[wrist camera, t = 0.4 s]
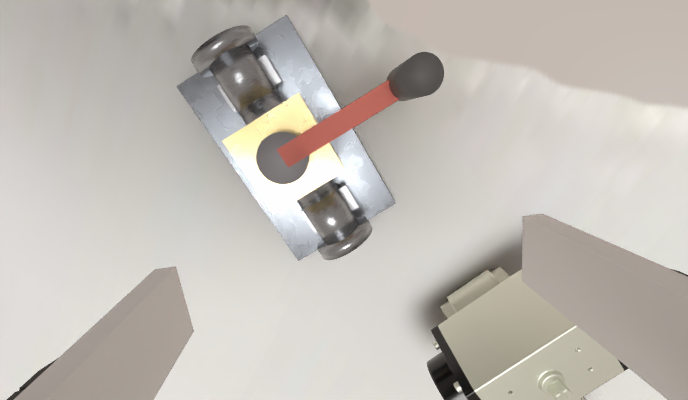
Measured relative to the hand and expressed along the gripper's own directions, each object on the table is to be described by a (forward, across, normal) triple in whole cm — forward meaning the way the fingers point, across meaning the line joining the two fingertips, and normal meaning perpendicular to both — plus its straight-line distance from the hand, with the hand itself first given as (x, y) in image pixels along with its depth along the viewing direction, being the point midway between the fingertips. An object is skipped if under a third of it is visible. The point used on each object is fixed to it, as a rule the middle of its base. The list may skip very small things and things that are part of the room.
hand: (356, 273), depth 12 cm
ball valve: (+28, +17, -20) cm, 38 cm away
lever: (+18, +1, +5) cm, 19 cm away
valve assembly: (+28, -4, +3) cm, 28 cm away
